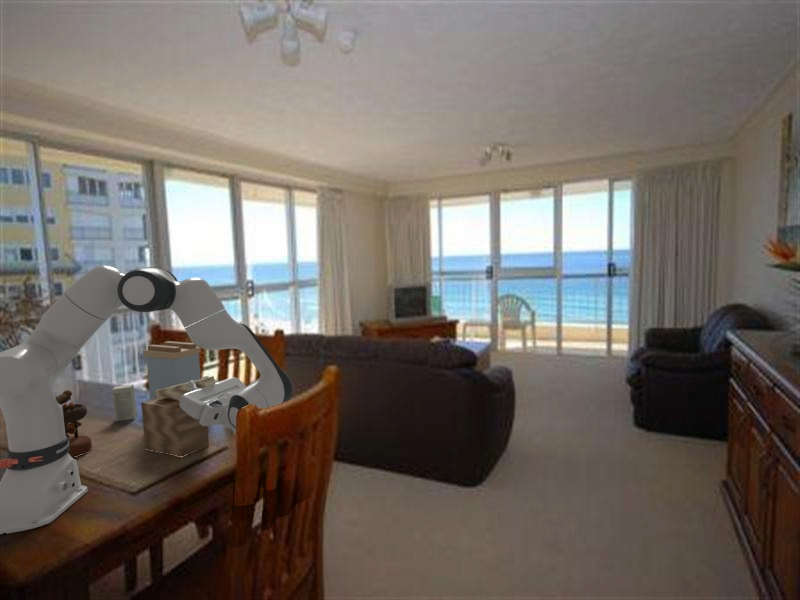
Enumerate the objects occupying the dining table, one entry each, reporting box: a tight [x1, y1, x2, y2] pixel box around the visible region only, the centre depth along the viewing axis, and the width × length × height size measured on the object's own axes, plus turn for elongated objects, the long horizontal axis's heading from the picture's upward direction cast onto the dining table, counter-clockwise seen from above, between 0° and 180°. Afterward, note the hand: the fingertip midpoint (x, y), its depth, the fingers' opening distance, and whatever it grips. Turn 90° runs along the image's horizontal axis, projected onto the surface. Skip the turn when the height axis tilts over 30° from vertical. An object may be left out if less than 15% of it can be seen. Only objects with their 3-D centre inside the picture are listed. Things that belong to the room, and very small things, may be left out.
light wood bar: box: [156, 375, 216, 400], centre depth 140 cm, size 22×4×3 cm, turn 65°
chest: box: [143, 340, 202, 400], centre depth 164 cm, size 15×11×28 cm
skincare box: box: [111, 383, 138, 422], centre depth 171 cm, size 6×4×12 cm
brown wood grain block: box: [141, 395, 210, 456], centre depth 143 cm, size 16×10×15 cm, turn 65°
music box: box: [55, 389, 93, 457], centre depth 142 cm, size 15×11×20 cm
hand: (197, 380), depth 137 cm, fingers closed on light wood bar, 3 cm apart
